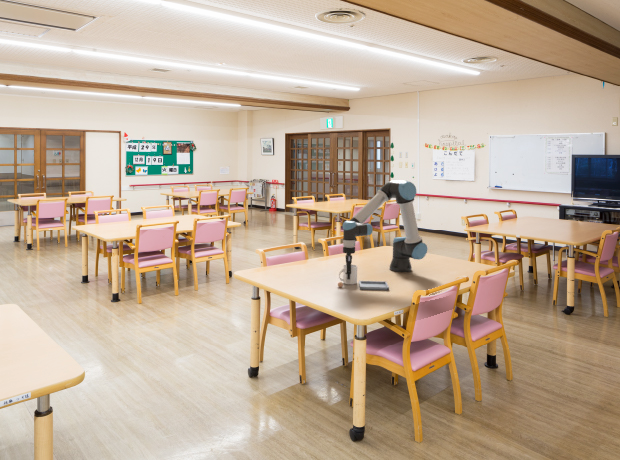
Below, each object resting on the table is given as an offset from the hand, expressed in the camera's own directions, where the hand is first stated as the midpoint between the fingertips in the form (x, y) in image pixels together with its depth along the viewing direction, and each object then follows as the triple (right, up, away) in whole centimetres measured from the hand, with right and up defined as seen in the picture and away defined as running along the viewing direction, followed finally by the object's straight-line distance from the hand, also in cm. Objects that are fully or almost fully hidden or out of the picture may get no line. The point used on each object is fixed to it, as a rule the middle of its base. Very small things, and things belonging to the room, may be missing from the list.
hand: (348, 282), depth 303 cm
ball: (-5, -2, -11) cm, 12 cm away
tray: (+15, -2, -9) cm, 17 cm away
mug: (0, -1, -1) cm, 1 cm away
